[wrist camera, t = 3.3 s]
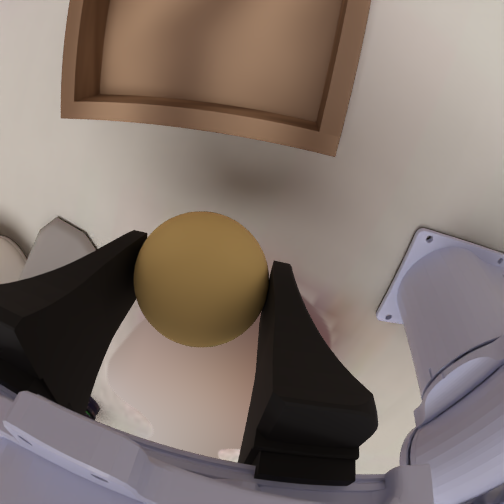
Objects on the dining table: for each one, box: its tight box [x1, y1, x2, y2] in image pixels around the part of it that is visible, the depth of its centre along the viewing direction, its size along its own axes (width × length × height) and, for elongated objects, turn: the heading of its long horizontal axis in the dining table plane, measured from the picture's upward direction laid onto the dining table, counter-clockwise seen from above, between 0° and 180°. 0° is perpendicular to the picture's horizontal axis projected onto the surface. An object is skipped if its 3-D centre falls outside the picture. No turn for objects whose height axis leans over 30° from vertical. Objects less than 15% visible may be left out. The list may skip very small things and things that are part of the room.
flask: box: [18, 218, 96, 281], centre depth 20 cm, size 7×7×10 cm
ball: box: [134, 212, 269, 347], centre depth 12 cm, size 5×5×5 cm
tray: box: [61, 0, 371, 157], centre depth 12 cm, size 15×12×3 cm
